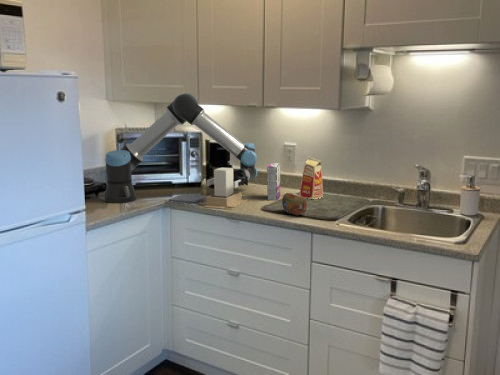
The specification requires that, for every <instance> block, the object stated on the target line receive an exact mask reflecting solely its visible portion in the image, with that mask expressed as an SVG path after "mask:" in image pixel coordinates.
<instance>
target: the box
mask: <svg viewBox="0 0 500 375" xmlns="http://www.w3.org/2000/svg"><path fill="white" fill-rule="evenodd" d="M233 171H234V167H219V168H216V169H213V177H214V189H213V190H214V191H213V192H214V193H213V194H215V197H217V198H227V197H230V196H232V195H234V191H235V190H234V189H235V188H234V184H233Z"/></svg>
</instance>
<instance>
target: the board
mask: <svg viewBox="0 0 500 375" xmlns="http://www.w3.org/2000/svg"><path fill="white" fill-rule="evenodd" d="M207 196H208V195H202V194H189V193H183V194H180V195H176V196H174V197H172V198H168V202H169V201H173V202H172V203H180V202H183V203H182V204H190V205H191V204H195V205H196V204H197V203H199V202H202V201H204V200H205V201H206V197H207Z"/></svg>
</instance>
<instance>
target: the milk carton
mask: <svg viewBox="0 0 500 375" xmlns="http://www.w3.org/2000/svg"><path fill="white" fill-rule="evenodd" d="M321 162H322V160H320V159H317V158H313V157H311V156H307V160H306V161H305V163H304V167H303V171H302V175H301V180H300V181H301V182H300V189H299V194H298V195H300V196H303V197H304V198H308V199H307V200H311V199H314V200H318V198H319V199H322V198H323V197H324V188H323V172H322V163H321ZM321 197H322V198H321Z"/></svg>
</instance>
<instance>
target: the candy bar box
mask: <svg viewBox="0 0 500 375" xmlns="http://www.w3.org/2000/svg"><path fill="white" fill-rule="evenodd" d="M266 175H267V177H266V181H267V201H279V198H281V163H279V162H276V163H275V162H271V163H270V164H268V165H267V166H266Z"/></svg>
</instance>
